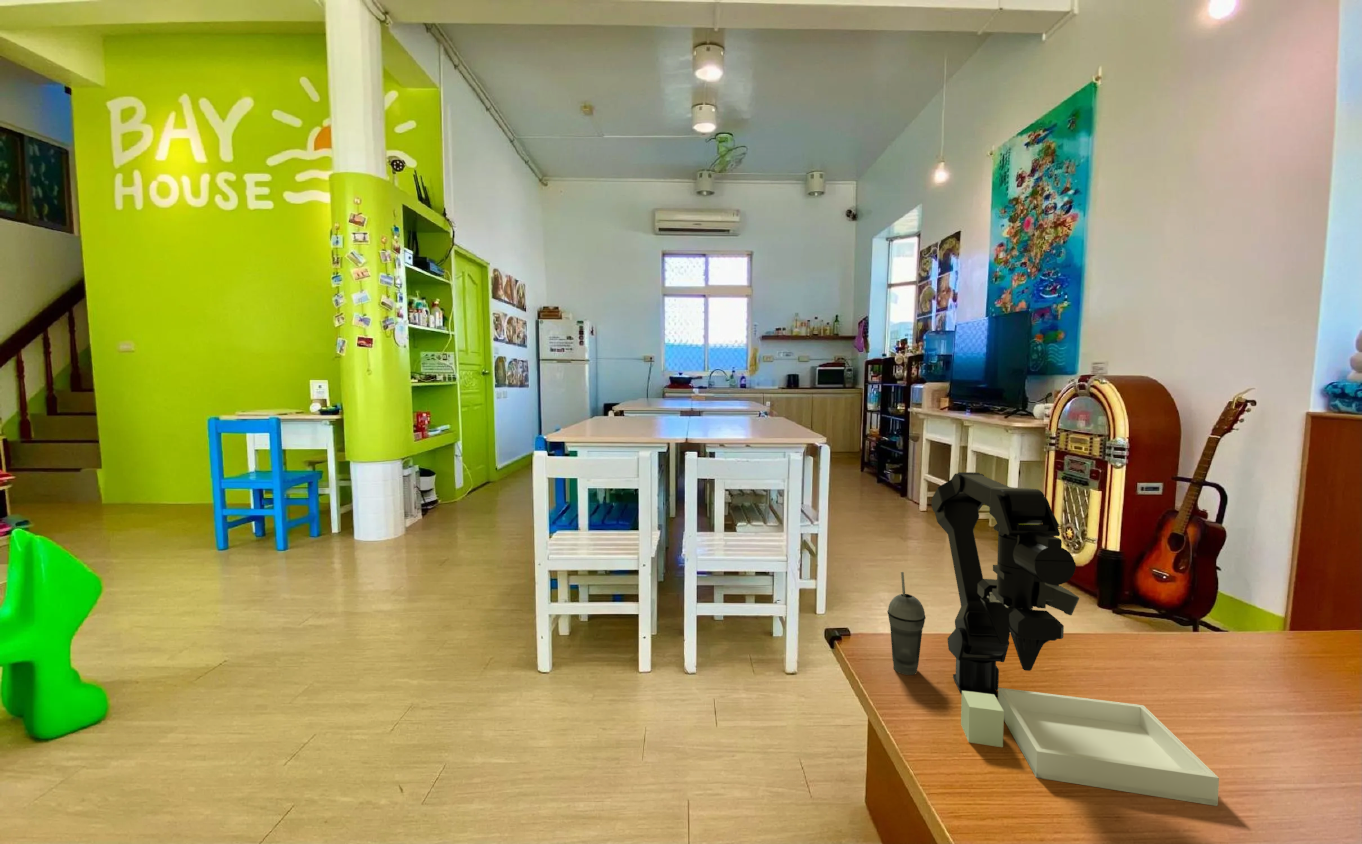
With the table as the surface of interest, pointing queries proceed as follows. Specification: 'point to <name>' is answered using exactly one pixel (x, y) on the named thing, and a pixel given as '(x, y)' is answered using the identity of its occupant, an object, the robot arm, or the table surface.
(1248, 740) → the table surface
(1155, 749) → the bin
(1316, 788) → the table surface
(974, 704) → the sage block
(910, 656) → the beverage cup
